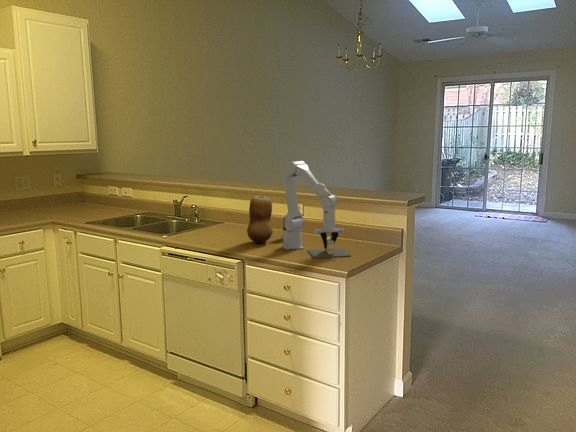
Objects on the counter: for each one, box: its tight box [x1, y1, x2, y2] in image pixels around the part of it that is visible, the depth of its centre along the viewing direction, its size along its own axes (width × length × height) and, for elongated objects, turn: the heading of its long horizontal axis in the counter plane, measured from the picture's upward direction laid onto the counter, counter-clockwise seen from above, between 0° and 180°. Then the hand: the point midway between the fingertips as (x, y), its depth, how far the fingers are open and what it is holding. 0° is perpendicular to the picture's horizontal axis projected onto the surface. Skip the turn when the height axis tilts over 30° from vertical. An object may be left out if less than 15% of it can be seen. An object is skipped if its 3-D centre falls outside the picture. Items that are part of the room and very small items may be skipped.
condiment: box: [278, 216, 287, 240], centre depth 272 cm, size 7×8×12 cm
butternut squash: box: [246, 195, 274, 244], centre depth 261 cm, size 14×13×25 cm
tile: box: [323, 236, 336, 254], centre depth 238 cm, size 9×3×6 cm, turn 10°
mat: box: [307, 247, 352, 259], centre depth 239 cm, size 18×14×1 cm
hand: (328, 247), depth 238 cm, fingers closed on tile, 3 cm apart
